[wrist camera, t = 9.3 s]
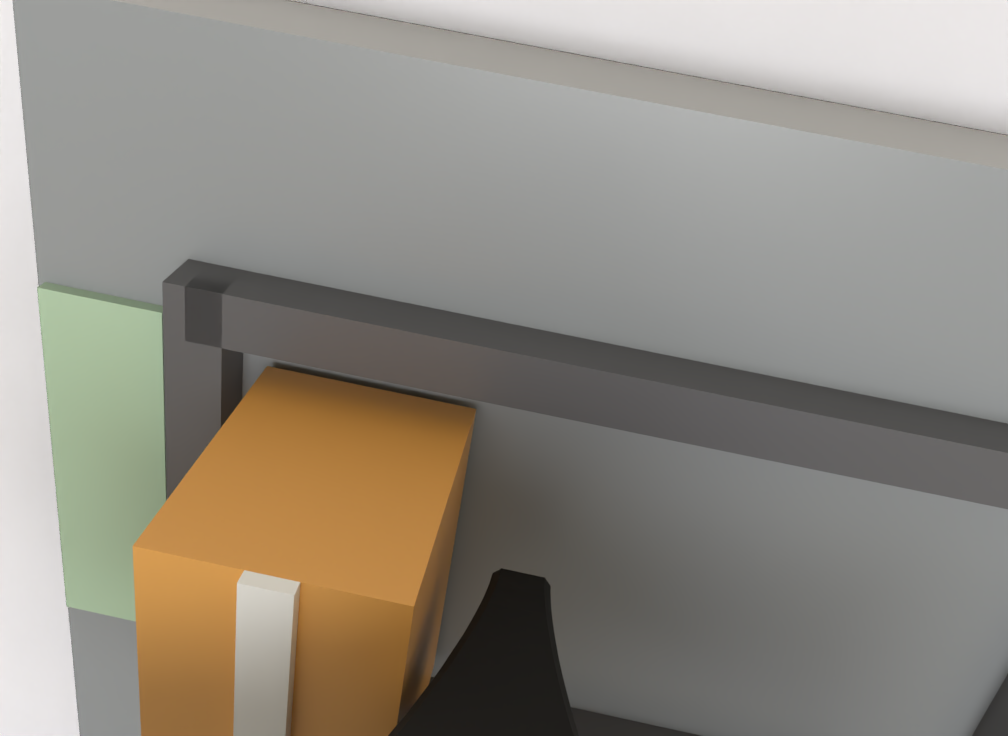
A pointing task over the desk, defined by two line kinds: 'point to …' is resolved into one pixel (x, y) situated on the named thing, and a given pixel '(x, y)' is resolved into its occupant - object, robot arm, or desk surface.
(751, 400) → the breaker panel
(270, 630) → the lever
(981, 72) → the desk surface
